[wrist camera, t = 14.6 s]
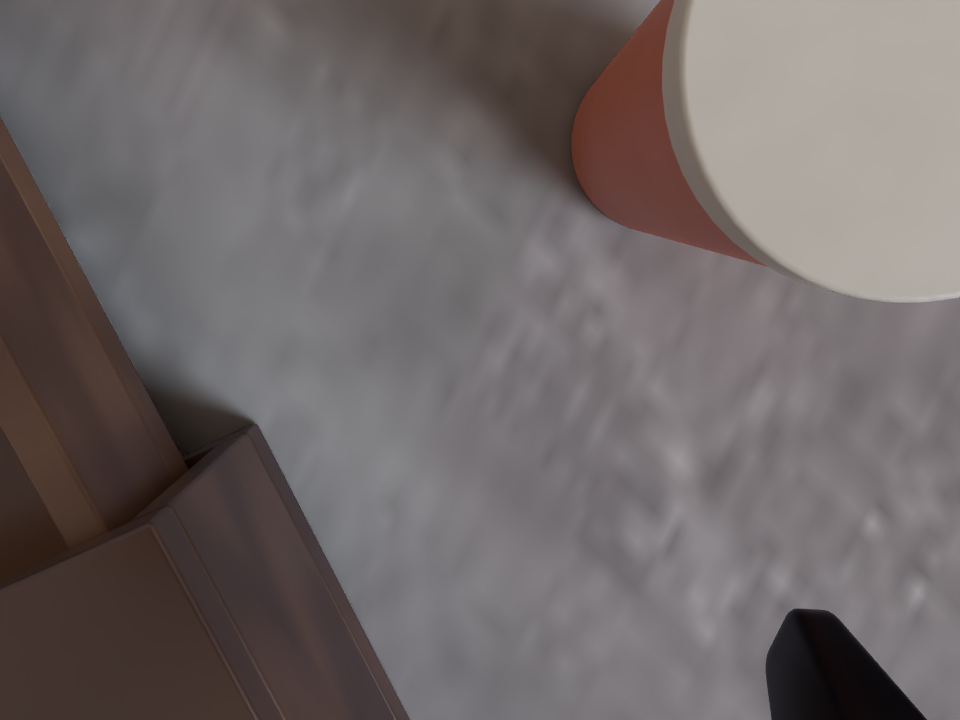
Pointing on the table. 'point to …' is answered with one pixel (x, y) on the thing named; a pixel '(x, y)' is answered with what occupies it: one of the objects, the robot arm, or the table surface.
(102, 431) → the drawer
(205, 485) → the organiser
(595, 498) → the table surface
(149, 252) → the table surface
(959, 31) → the tube
